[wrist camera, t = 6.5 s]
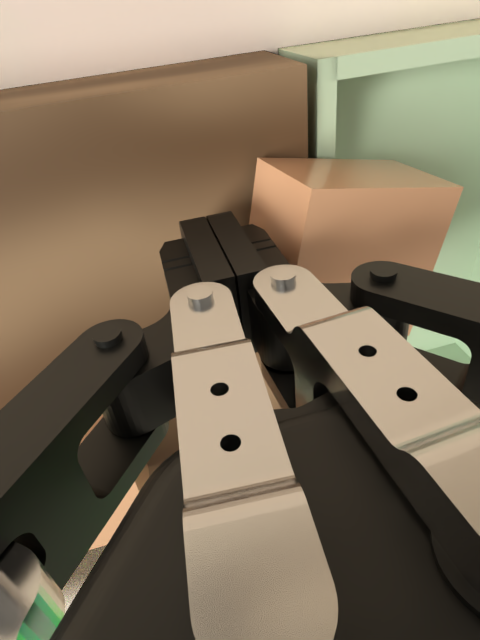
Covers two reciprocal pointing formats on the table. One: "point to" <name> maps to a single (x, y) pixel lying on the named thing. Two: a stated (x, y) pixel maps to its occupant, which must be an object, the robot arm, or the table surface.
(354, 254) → the tile
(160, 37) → the table surface
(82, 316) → the sliding lid box
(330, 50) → the tray
